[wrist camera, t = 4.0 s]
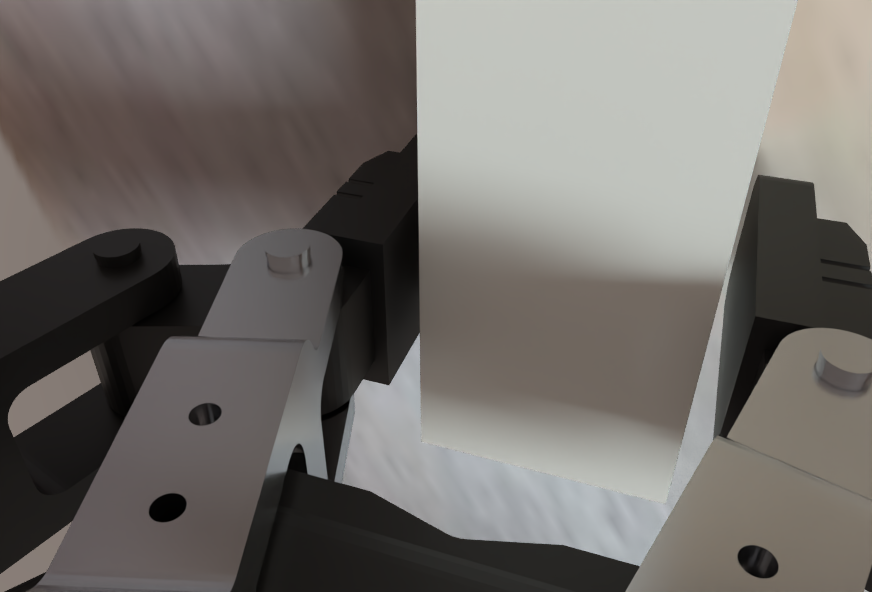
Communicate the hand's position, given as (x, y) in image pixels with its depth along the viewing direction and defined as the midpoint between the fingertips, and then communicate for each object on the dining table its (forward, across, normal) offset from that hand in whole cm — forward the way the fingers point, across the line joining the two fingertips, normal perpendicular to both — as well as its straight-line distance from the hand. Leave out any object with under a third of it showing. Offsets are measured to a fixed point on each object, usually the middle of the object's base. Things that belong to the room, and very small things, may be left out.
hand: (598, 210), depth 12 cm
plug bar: (+1, 0, -6) cm, 6 cm away
